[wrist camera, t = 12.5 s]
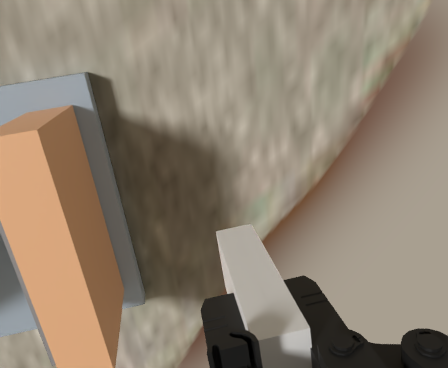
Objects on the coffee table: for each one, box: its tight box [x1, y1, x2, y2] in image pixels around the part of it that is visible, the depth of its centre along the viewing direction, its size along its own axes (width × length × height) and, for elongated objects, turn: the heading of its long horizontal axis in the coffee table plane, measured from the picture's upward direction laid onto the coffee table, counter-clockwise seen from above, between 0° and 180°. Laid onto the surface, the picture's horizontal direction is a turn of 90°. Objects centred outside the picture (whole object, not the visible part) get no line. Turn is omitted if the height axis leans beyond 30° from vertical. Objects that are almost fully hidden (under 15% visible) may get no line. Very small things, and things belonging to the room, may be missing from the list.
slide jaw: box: [0, 105, 124, 368], centre depth 20 cm, size 12×3×7 cm, turn 9°
